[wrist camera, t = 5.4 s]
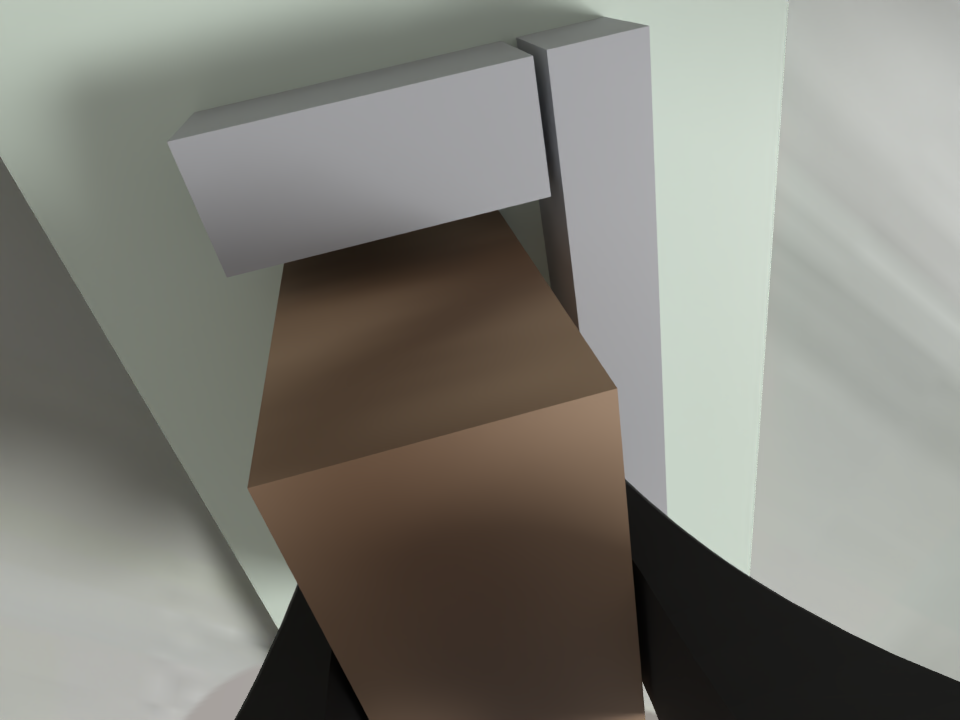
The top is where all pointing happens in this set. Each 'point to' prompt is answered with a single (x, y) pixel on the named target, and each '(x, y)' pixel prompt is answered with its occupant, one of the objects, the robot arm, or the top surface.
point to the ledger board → (227, 322)
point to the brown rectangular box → (450, 481)
